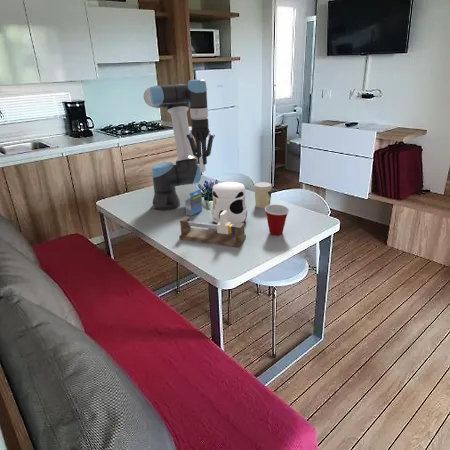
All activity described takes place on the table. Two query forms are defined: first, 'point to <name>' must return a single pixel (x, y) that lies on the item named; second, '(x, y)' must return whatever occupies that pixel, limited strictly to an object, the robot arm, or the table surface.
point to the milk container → (229, 202)
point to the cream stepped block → (223, 223)
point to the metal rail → (211, 226)
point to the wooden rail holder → (212, 235)
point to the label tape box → (194, 203)
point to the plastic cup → (276, 218)
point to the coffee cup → (262, 194)
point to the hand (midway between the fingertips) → (202, 171)
